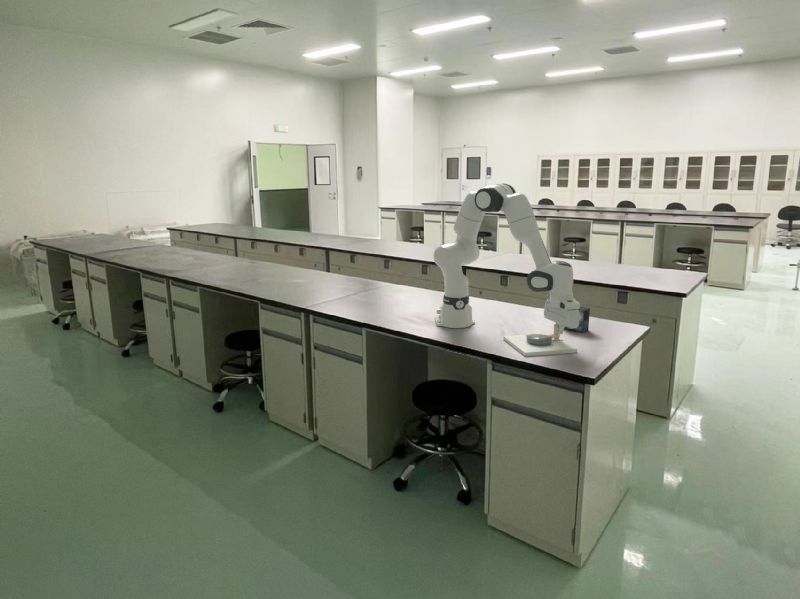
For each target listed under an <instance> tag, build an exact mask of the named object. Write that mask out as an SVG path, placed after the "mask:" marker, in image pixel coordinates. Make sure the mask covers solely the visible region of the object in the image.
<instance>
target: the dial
mask: <svg viewBox="0 0 800 599" xmlns="http://www.w3.org/2000/svg"><path fill="white" fill-rule="evenodd" d="M530 334H531V333H530ZM552 338H555V339H559V338H561V334H558V333H557V328H556V323H554V324H553V333H552V334H551V335H543V334H542V333H532V334H531V335H528V336H527V342H528V343H531V344H535V345H548V344H551V343H552Z"/></svg>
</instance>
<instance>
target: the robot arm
mask: <svg viewBox="0 0 800 599" xmlns="http://www.w3.org/2000/svg"><path fill="white" fill-rule="evenodd" d="M498 212H501V213H503V214H504V216H505V218H506V220H507V223H508V227H509V230H510V233H511V235H512V236H513V238H514V240H516V241H518V242H520V243H522V244H524V245H525V246H526V247H527V248H528V250H529V251H530V254H531V257H532V260H533V262H534V264H535V269H534V270H532V271H531V272H529V273H528V274H527V277H526V285H527V287H528V288H529V289H530V290H531V291H532V292H534V293H544V292H549V296H548V297H547V299H546V300H545V303H544V307H543V308H544V309H543V316H544V319H547V320H548V321H551V322H553V323H555V324H556V328H557V333H558V334H560V335H563V334H564V330H565V329H564V328H565V327H568V328H570V329H573V328H577V327H578V326H579V310H578V309H579V308H580V307H581V304H580V302H579V301H577V300H576V299H575V297H574V293H573V285H574V269H573V266H572V264H571V263H569V262H567V261H562V260H554V261H551V259H550V257H549V253H548V251H547V249H546V245H545V243H544V240H543V239H542V236H541V232H540V229H539V225H538V222H537V218H536V216H535V213H534V210H533V207H532V205H531V202H530V201H529V199H528V197H527V196H526V195H525V194H524V193H520V192H516V189H515V188H514V187H513V186H512V185H511V184H509V183H494V184H491V185H485V186H483V187H481V188H479V189H478V191H477V190H472V191H470V192H468V193H467V194H466V196H465V198H464V200H463V201H462V204H461V206H460V208H459V211H458V214H457V217H456V219H455V222H454V225H453V231H454V232H455V234H456V239H455V241H454V242H450V243H449V242H448V243H444V244H441V245H440V246H437V247H436V248H435V250H434V251H433V261H434V263H435V264H436V265H437V266H438V267H439V269H440V270H441V273H442V276H443V281H444V282H443V283H444V286H443V287H444V294H443V298H442V304H441V305H440V307H439V309H436V314H437V315H435V316H434V320H435V325H436V326H437V327H442V328H443V327H444V328H450V329H464V328H469V327H470V326H472V325H474V324H476V321H475V320H474V319H473V308H472V306H471V305H470V304H469V303H470V295H469V278H468V277H467V276H466V275H465V274H464V273H463V268H462V266H466V265H470V264H472V263H474V262H476V261H477V260H478V259H479V256H480V248H479V246H478V244H477V240H478V239H477V238H478V236H479V235H478V234H479V230H480V229H481V225H482V223H483V220H484V218H485V214H486V213H498Z"/></svg>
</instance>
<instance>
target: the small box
mask: <svg viewBox="0 0 800 599" xmlns="http://www.w3.org/2000/svg"><path fill="white" fill-rule="evenodd" d="M578 310H579V326H578V327H577V328H573V329H570V328H568V327H565V328H564V330H567V331H570V332H575V333H580V334H583V333H586V332H588V331H590V330H589V326H590V324H589V323H590V311H591V308H590V307H586V306H580V308H579V309H578Z"/></svg>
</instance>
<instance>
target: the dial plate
mask: <svg viewBox="0 0 800 599" xmlns="http://www.w3.org/2000/svg"><path fill="white" fill-rule="evenodd" d="M541 334H543V335H551V334H553V333H552V332H546V333H544V332H542V333H541ZM528 335H531V333H529V334H519V335H518V334H516V335H515V334H514V335H505V336H504V335H503V336H502V337H503V341H505V342H506V343H507V344H508V345H510V346H511V347H512V348H514V350H516V351H517V352H519V353H520V355H522V354H523V355H522V356H524V357H533V356H546V355H559V354H570V353H571V354H572V353H578V348H577V347H575V346H574V345H572V344H570V343H569V342H567V341H565V340H563V338H561V337H559V339H555V338H552V343H551V344H548V345H535V344H531V343H528V342H527V336H528Z"/></svg>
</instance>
